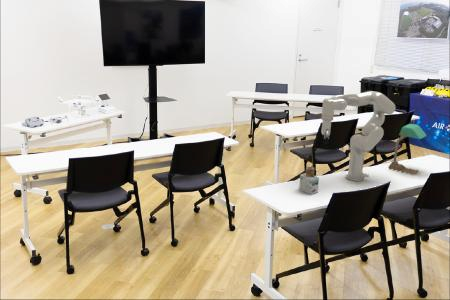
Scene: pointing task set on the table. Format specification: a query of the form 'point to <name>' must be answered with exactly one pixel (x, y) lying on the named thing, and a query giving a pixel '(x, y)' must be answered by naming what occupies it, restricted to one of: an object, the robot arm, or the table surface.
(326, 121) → the robot arm
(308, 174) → the walnut block
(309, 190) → the light bulb box
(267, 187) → the table surface
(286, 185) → the table surface
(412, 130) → the banker's lamp
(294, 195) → the table surface
